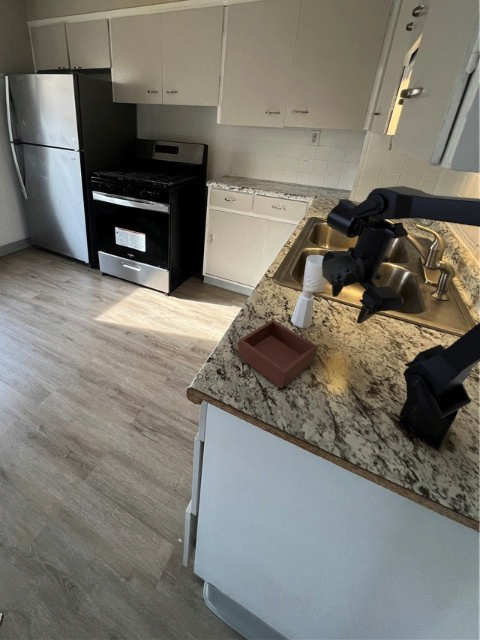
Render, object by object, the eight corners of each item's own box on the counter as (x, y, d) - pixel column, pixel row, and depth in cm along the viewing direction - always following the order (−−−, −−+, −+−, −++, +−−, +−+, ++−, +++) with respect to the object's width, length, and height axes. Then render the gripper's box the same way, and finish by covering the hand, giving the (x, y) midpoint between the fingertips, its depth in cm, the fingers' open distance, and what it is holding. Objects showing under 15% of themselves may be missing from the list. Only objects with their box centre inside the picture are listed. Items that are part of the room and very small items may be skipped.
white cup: (299, 280, 107) (304, 253, 103) (323, 282, 106) (329, 256, 102) (303, 292, 100) (309, 264, 96) (328, 294, 99) (336, 267, 95)
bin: (314, 361, 73) (318, 346, 71) (281, 389, 65) (285, 372, 63) (270, 333, 81) (272, 319, 79) (237, 355, 74) (238, 339, 72)
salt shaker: (299, 314, 89) (306, 280, 85) (315, 324, 85) (324, 289, 80) (286, 320, 87) (293, 286, 82) (302, 331, 82) (310, 295, 78)
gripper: (310, 229, 69) (294, 286, 77) (365, 276, 53) (338, 342, 61) (355, 228, 71) (334, 284, 79) (420, 273, 55) (387, 337, 63)
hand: (346, 309), depth 70 cm, fingers open, 9 cm apart
